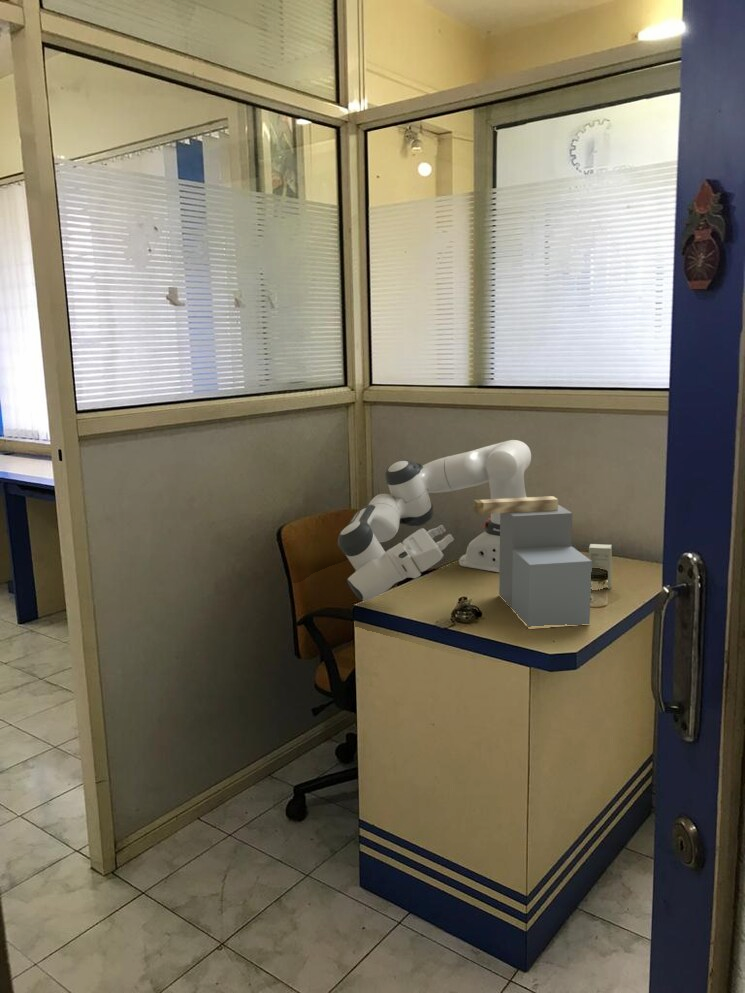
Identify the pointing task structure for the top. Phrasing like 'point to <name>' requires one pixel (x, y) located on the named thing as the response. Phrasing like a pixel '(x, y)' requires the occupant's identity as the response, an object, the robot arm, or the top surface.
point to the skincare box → (601, 558)
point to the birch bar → (515, 505)
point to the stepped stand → (543, 569)
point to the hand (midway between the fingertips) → (448, 532)
